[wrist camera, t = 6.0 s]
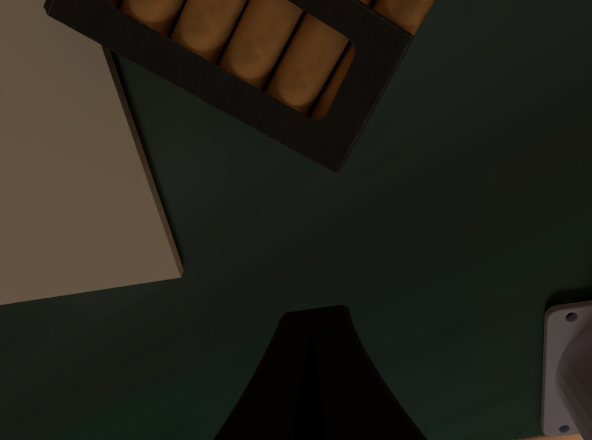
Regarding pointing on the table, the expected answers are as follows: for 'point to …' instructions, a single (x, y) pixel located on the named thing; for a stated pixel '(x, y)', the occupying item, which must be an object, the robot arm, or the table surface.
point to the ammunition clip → (264, 58)
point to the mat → (71, 168)
